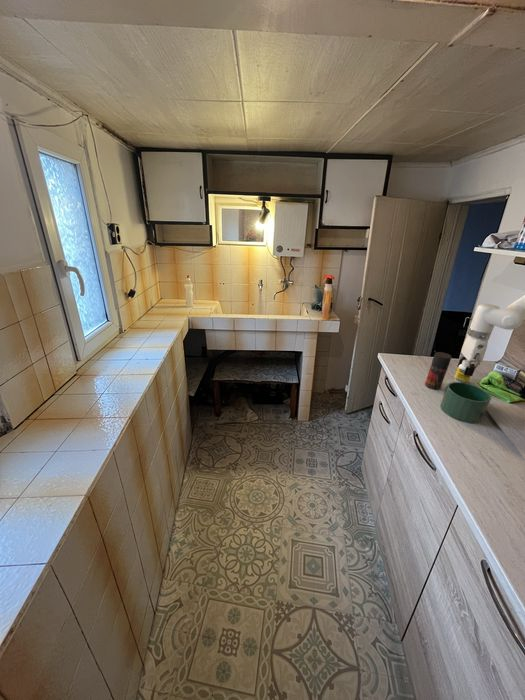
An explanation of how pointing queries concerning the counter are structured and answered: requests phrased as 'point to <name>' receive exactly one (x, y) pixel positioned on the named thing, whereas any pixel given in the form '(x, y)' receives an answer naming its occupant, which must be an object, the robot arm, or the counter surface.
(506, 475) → the counter surface
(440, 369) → the deodorant
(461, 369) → the supplement bottle
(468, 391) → the crock
